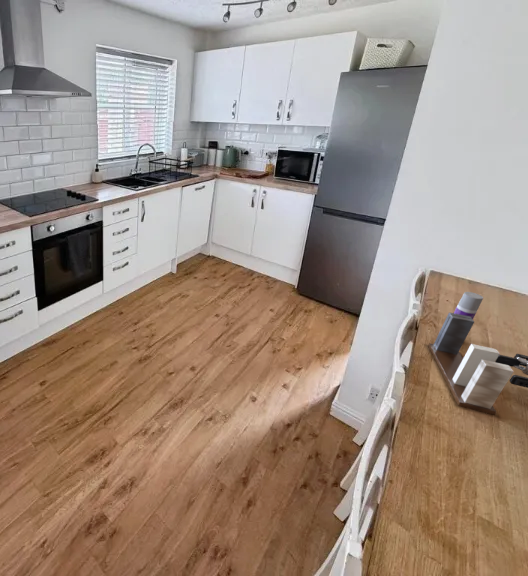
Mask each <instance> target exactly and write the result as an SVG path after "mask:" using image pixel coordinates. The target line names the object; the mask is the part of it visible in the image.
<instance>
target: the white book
mask: <svg viewBox="0 0 528 576" xmlns="http://www.w3.org/2000/svg"><path fill="white" fill-rule="evenodd" d="M499 355H501V353H500V352H499V351H498V350H497V348H493V347H488V346H482V345H478V344H474V343H470V345H469V347H468V349H467V351H466V352H465V355H464V356H463V357H462V358H463V360H462V362H461V364H460V366H459V368H458V369H457V371H456V373H455V375H454V377H453V379H452V380H453V381H454V383H455V384H458V385H462V386H466V387H467V385H468V383H469V381H470V380H471V378H472V376H473V374H474V373H475V371H476V369H477V367H478V366H479V364H480V362H481V360H482V359H483V360H487V361H491V362H495V361H496V359H497V358H498V356H499Z"/></svg>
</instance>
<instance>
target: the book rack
mask: <svg viewBox="0 0 528 576" xmlns="http://www.w3.org/2000/svg"><path fill="white" fill-rule="evenodd" d="M474 324H475V320H474V318H473V319H472V318H471V317H470V316H465V315H460V314H455V313H454V312H448V314H447V316H446V318H445V320H444V322H443V324H442V327H441V328H440V329H439V332H438V334H437V336H436V339H435V341H434V343H428V346H427V347H428V349H429V350H430V353H431V354H432V356H433V358H434V360H435V362H436V364H437V366H438V368H439V371H440V373H441V374H442V376H443V378H444V380H445V382H446V384H447V386H448V388H449V391H450V393H451V394H452V396H453V398H454V400H455V402H456V404H457V406H458V407H463V408H466V409H470V410H474V411H478V412H482V413H485V414H490V415H493V416H495V415H496V413H497V410H496V409H495V407H494V404H495V403H496V401H497V399H498V398H499V396H500V394H501V393H502V391H503V389H504V388H505V387H506V385H507V383H508V382H509V380H510V379H511V377H512V376H513V375H514V372H515V371H514V370H513V369H512V367H511V366H509V365H505V364H500V363H496V362H491V361H487V360H483V359H482V360H481V362H480V364H479V366H478V367H477V369H476V371H475V373H474V374H473V376H472V378H471V380H470V381H469V383H468V385H467V387H466V386H462V385H458V384H455V383H454V381H453V380H452V379H453V377H454V375H455V373H456V371H457V369H458V368H459V366H460V364H461V362H462V360H463V358H464V357H463V356H462V354H461V353H460V351H461V349H462V347H463V345H464V343H465V341H466V339H467V337H468V336H469V333H470V331H471V330H472V328H473V326H474Z"/></svg>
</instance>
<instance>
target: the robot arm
mask: <svg viewBox="0 0 528 576" xmlns="http://www.w3.org/2000/svg"><path fill="white" fill-rule="evenodd" d="M495 362H496V363H500V364H505V365H509V366H510V367H511V368H515V369H517V370H520V371H521V372H522V373H523V374H524V375H526V376H528V355H525V354H521V353H515V355H514V357H512V356H508V355H504V354H499V356H498V358H497V359H496V361H495ZM526 376H522V375H518V374H512V375H511V377H510V378H509V380H508V382H509V383H510V384H511V385H514V386H518V387H523V388H527V389H528V377H526Z"/></svg>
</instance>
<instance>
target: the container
mask: <svg viewBox="0 0 528 576" xmlns="http://www.w3.org/2000/svg"><path fill="white" fill-rule="evenodd" d="M483 300H484V296H483V295H480V294H479V293H475V292H472V291H464V293H463V294H462V296H461V298H460V300H459V302H458V304H457V306H456V307H455V310H454V312H453V313H455V314H460V315H465V316H470V317H471V318H472V319H473V320H474V318H475V316H476V314H477V313H478V310H479V308H480V306H481V304H482V302H483Z"/></svg>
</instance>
